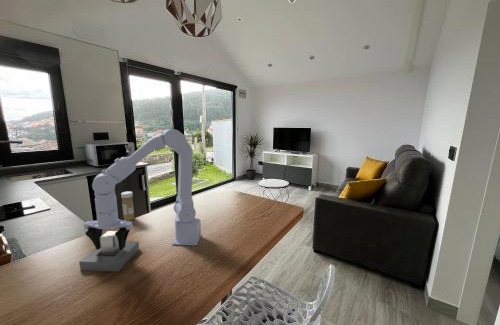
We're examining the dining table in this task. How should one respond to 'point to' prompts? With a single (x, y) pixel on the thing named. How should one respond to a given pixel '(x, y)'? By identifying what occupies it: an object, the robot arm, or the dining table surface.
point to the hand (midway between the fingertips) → (111, 248)
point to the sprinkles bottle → (127, 205)
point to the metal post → (109, 244)
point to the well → (109, 258)
